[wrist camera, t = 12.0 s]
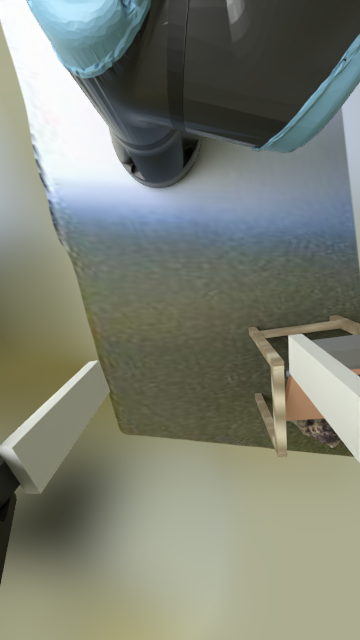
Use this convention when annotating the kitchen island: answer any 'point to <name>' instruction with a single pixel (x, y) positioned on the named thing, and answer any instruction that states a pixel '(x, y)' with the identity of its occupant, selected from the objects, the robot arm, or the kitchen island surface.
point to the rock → (318, 430)
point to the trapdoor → (348, 350)
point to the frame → (277, 373)
